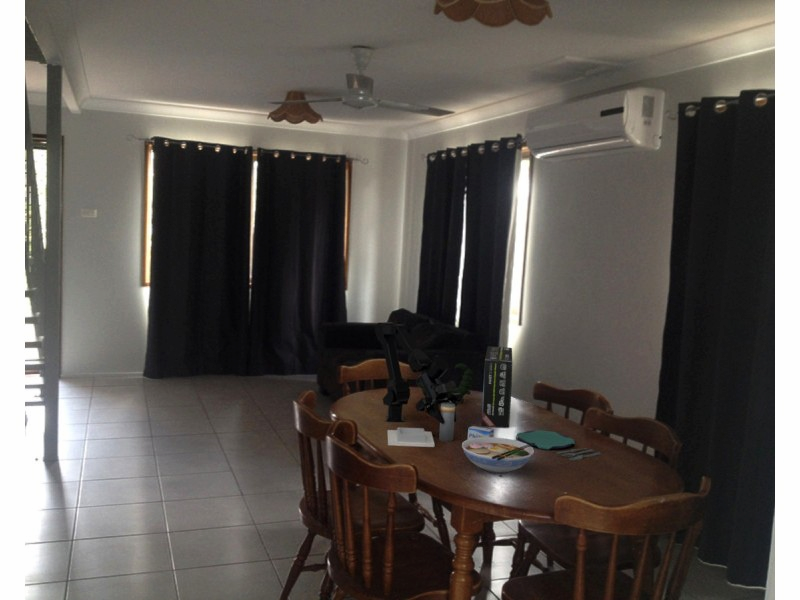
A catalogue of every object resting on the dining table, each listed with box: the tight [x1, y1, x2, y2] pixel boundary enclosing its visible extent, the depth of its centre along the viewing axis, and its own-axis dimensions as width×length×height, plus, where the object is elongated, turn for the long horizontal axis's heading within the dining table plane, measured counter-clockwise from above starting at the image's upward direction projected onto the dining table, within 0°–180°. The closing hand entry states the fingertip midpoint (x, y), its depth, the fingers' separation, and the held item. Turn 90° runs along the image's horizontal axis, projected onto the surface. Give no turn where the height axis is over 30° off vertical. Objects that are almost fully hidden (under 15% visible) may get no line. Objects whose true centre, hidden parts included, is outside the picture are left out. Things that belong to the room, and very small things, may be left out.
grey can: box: [438, 402, 456, 442], centre depth 259 cm, size 5×5×13 cm
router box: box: [481, 345, 513, 429], centre depth 296 cm, size 36×11×27 cm, turn 172°
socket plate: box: [387, 427, 435, 448], centre depth 257 cm, size 16×16×4 cm
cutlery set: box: [515, 429, 602, 461], centre depth 258 cm, size 20×30×2 cm, turn 31°
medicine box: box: [466, 425, 495, 440], centre depth 245 cm, size 8×4×9 cm, turn 62°
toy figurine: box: [416, 363, 474, 403], centre depth 316 cm, size 9×19×25 cm
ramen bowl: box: [461, 437, 536, 474], centre depth 228 cm, size 25×23×8 cm
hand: (449, 422), depth 258 cm, fingers open, 5 cm apart
